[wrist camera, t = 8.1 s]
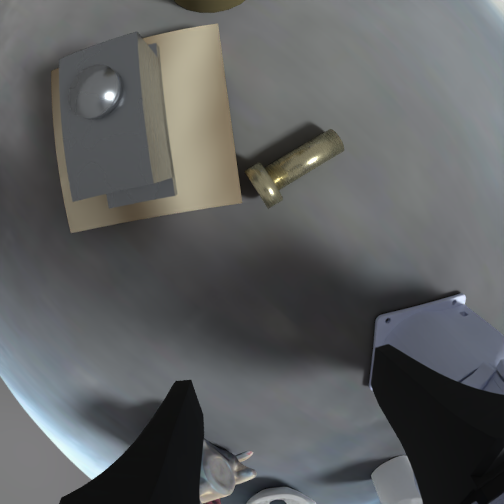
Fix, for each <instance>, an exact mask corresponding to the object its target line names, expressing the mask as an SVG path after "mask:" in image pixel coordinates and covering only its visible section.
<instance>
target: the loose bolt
mask: <svg viewBox="0 0 504 504" xmlns="http://www.w3.org/2000/svg"><path fill="white" fill-rule="evenodd" d="M343 151H344V145H343V143H342V141H341V139H340V137H339V136H338V135H337V133H336V132H335V131H333V130H332V129H329V130H328V131H326V132H324V133H322V134H321V135H319V136H317V137H315V138H314V139H312V140H310V141H309V142H307V143H305V144H303V145H302V146H300V147H298V148H297V149H295V150H293V151H292V152H290V153H288V154H287V155H285V156H283V157H282V158H280V159H278V160H277V161H275V162H273V163H272V164H270V165H268V166H267V167H265V168H264V167H263V166H262V165H261V163H260V162H258V163H257V164H255V165H254V166H252V167H250V168H249V169H247V170H246V171H244V172H245V173H246V175H247V177H248V178H249V180H250V181H251V183H252V184H253V186H254V188H255V189H256V191H257V192H258V194H259V195H260V197H261V198H262V200H263V201H264V203H265V204H266V206H267V207H268V209H269V208H270V207H272V206H274V205H275V204H277V203H278V202H280V201H282V200H283V198H282V196H281V194H280V192H279V190H280V189H282V188H283V187H285V186H287V185H288V184H290V183H292V182H293V181H295V180H296V179H298V178H300V177H301V176H303V175H305V174H306V173H308V172H310V171H311V170H313V169H315V168H316V167H318V166H320V165H321V164H323V163H325V162H326V161H328V160H330V159H331V158H333V157H335V156H336V155H338V154H340V153H341V152H343Z"/></svg>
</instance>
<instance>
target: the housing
mask: <svg viewBox="0 0 504 504" xmlns="http://www.w3.org/2000/svg"><path fill="white" fill-rule="evenodd" d="M59 92H60V111H61V124H62V134H63V144H64V152H65V160H66V167H67V173H68V180H69V186H70V191H71V197H72V202H75V201H79V200H83V199H87V198H91V197H95V196H99V195H104V194H106V196H107V201H108V207H109V209H110V208H115V207H119V206H124V205H129V204H134V203H139V202H144V201H150V200H155V199H160V198H166V197H171V196H176V195H177V194H178V193H177V187H176V180H175V174H174V167H173V161H172V154H171V147H170V140H169V132H168V125H167V117H166V109H165V100H164V91H163V82H162V72H161V61H160V49H159V46H158V45H157V43H153V44H149V45H147V43H146V42H145V41H144V40H143V38H142V37H141V36H140V34H139V33H138V32H134V33H130V34H127V35H124V36H120V37H117V38H114V39H111V40H108V41H105V42H102V43H99V44H97V45H94V46H91V47H88V48H86V49H83V50H81V51H78V52H76V53H73V54H71V55H68V56H66V57H64V58H61V59H59Z"/></svg>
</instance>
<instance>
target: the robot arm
mask: <svg viewBox="0 0 504 504" xmlns="http://www.w3.org/2000/svg"><path fill="white" fill-rule="evenodd" d="M465 299H466V296H465V295H464V294H462V293H460V294H457V295H454V296H450V297H447V298H443V299H440V300H436V301H433V302H429V303H425V304H422V305H418V306H414V307H410V308H406V309H402V310H398V311H394V312H390V313H386V314H382V315H379V316H378V317H377V318H376V321H375V332H374V344H373V354H372V363H371V372H370V380H369V388H370V389H371V390H373V392H374V394H375V397H376V399H377V401H378V404H379V406H380V407H381V409H382V411H383V413H384V414H385V416H386V418H387V420H388V421H389V423H390V425H391V426H392V428H393V430H394V431H395V433H396V435H397V437H398V438H399V440H400V442H401V444H402V446H403V448H404V450H405V452H406V455H407V457H408V459H409V462H410V464H411V467H412V470H413V475H414V482H415V485H416V488H417V490H418V492H419V494H420V495H421V498H422V501H423V504H504V336H503V335H502V334H501V333H500V332H499V331H498V330H497V329H495V328H494V327H493V326H492V325H490V324H489V323H488V322H487V321H485V320H484V319H483V318H482V317H480V316H479V315H478V314H476V313H475V312H474V311H472V310H471V309H470V308H468V307H467V306H466V305H465ZM452 302H453V303H452ZM387 318H389V319H388V320H387V321H386V319H387ZM203 442H204V422H203V413H202V410H201V407H200V404H199V401H198V399H197V396H196V393H195V390H194V387H193V384H192V381H191V380H184V381H176V382H175V383H174V384H173V386H172V387H171V389H170V391H169V393H168V394H167V396H166V398H165V399H164V401H163V402H162V404H161V406H160V407H159V409H158V410H157V412H156V413H155V415H154V416H153V418H152V419H151V421H150V422H149V424H148V425H147V426H146V428H145V429H144V430H143V431H142V433H141V434H140V435H139V437H138V438H137V439H136V440H135V442H134V443H133V444H132V445H131V446H130V447H129V448H128V449H127V450H126V451H125V453H124V454H123V455H122V456H121V457H119V458H118V459H117V460H116V461H115V462H114V463H113V464H112V465H111V466H110V467H108V468H107V469H106V470H105V471H104V472H102V473H101V474H100V475H98V476H97V477H96V478H94V479H93V480H91V481H90V482H88V483H87V484H85V485H84V486H82V487H81V488H79V489H77V490H75V491H73V492H72V493H70V494H68V495H66V496H64V497H62V498H61V500H60V503H59V504H200V493H199V490H200V474H201V463H202V453H203Z"/></svg>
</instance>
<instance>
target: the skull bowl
mask: <svg viewBox="0 0 504 504" xmlns="http://www.w3.org/2000/svg"><path fill="white" fill-rule="evenodd" d="M277 499H278V500H284V501H285V502H286V504H316V502H315V501H314V500H312V499H311V498H309V497H307V496H305V495H304V494H302V493H301V492H299V491H296V490H294V489H291V488H289V487H274V488H269V489H264V490H262V491H260V492H259V493H257V494H255V495H254V496H253V497H251V498H250V499H249V500H248V502H247V503H246V504H270V502H271V501H273V500H277Z"/></svg>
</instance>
